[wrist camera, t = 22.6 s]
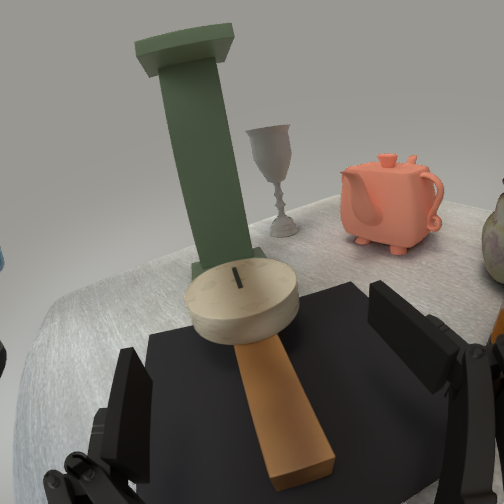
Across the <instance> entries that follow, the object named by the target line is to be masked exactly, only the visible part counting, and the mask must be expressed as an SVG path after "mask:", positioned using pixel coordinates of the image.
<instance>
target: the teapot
mask: <svg viewBox="0 0 504 504" xmlns="http://www.w3.org/2000/svg"><path fill="white" fill-rule="evenodd" d="M378 159H379V161H380V162H370V163H365V164H360V165H357V166H350V167H348V168H346V170H345V171H344V172H340V173H341V174H342V183H343V186H342V193H341V221H342V224H343V226H344V228H345V230H346V232H348V233H350V234H353V235H356V236H358V237H357V238H356V240H355V242H356V243H357V244H362V245H364V244H369V243H371V241H375V242H379V243H384V244H389V245H390V252H391V253H392V254H395V255H404V254H406V253H407V248H406V247H413V246H415V245H416V244H417V243H419V242H420V241H421V240H422V239H424V238H425V237H426V236H427V235H428V234H429V232H430V231H432V232H436V231H438V230H440V228H441V226H442V221H441V218H440V217H439V216H438V215H437V209H438V208H439V206H440V204H441V202H442V199H443V195H444V186H443V183H442V182H441V180H440V179H439V178H438V177H437V176H436V175H434V174H432V173H430V170H429V168H428V167H427V166H423V165H416V159H417V155H412V156H409V157H408V159H407V163H396V160H397V155H396V154H379V155H378ZM433 183H434V184H435V185H436V187H437V195H436V196H435V189H434V185H433ZM435 221H436V225H434V223H435Z"/></svg>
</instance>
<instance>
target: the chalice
mask: <svg viewBox="0 0 504 504" xmlns="http://www.w3.org/2000/svg"><path fill="white" fill-rule="evenodd" d="M289 126H290V125H278V126H271V127H264V128H258V129H253V130H249V131H246V133H247V134H248V136H249V137H250V142H251V147H252V153H253V158H254V161H255V162H256V164H257V166H258V168H259V170H260V171H261V172H262V174H263V175H264V177H265V178H266V179H267V181H268V182H271V183H273V184H274V186H275V193H274V195H275V197H276V199H277V203H276V205H275V206H276V207H277V208H278V211H279V214H278V216H277V217H278V218H276V219H275V220H274V221H273V223H272V224H273V225H272V227H271V229H272V230H271V232H270V235H271V236H274V237H286V236H291V235H294V234H296V233H297V232H298V231H299V229H298V228H297V227H296V224H295V223H294V222H293V219H292V218H290V217H286V216H287V215H285V213H284V206H285V203H284V202H283V200H282V196H283V192H282V190H281V188H280V182H282V181H283V180H284V179H285V178H286V175H287V171H288V168H289V165H290V160H291V148H290V141H289V136H288V129H289Z"/></svg>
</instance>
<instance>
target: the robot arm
mask: <svg viewBox="0 0 504 504" xmlns="http://www.w3.org/2000/svg"><path fill="white" fill-rule="evenodd" d="M3 267H4V258H3V255H2V251H1V248H0V271H2V269H3ZM367 322H368V323H369V325H370V326H371V327H372V328H373V329H374V330H375V331H376V332H377V333H378V334H379V335H380V336H381V338H382V339H383V340H384V341H385V342H386V343H387V344H388V345H389V346H390V347H391V349H392V350H393V351H394V352H395V353H396V354H397V355H398V356H399V357H400V359H401V360H402V361H403V362H404V363H405V364H406V365H407V366H408V368H409V369H410V370H411V371H412V372H413V373H414V374H415V376H416V377H417V378H418V379H419V380H420V381H421V382H422V384H423V385H424V386H425V387H426V388H427V389H428V391H429V392H430V393H431V394H432V395H433V394H434V393H436V392H437V391H439V390H440V389H442V388H443V387H444V385H445V383H446V381H447V380H448V381H449V382H450V385H449V387H448V389H447V391H446V393H445V396H444V397H446V396H447V394H448V393H449V402H448V421H447V432H446V442H445V450H444V457H443V463H442V469H441V474H440V479H439V484H438V489H437V493H436V497H435V501H434V504H497V495H496V493H495V492H493V491H492V482H493V473H494V462H495V437H496V442H497V447H498V452H499V458H500V464H501V471H502V479H503V490H504V377H503V376H502V372H503V374H504V334H500V335H498V336H497V338H496V340H495V342H494V343H493V344H491V345H488V346H485V347H484V346H482V345H480V344H476V343H475V344H470V345H469V344H468V343H467V342H466V341H465V340H463V339H462V338H461V337H460V336H459V335H458V334H457V333H455V332H454V331H453V330H452V329H450V328H449V327H448V326H447V325H446V324H444V322H442V321H441V320H440V319H439V318H437V317H435V316H432V315H430V314H429V315H427V316H424V315H423V314H421V313H420V312H419V311H418V310H417V309H416V308H414V307H413V306H412V305H411V304H410V303H408V302H407V301H406V300H405V299H403V298H402V297H401V296H400V295H399V294H397V293H396V292H395V291H394V290H392V289H391V288H390V287H389V286H387V285H386V284H385V283H384V282H382V281H381V280H379V281H376V282H374V283H371V284H370V288H369V305H368V319H367ZM152 389H153V380H152V379H151V377H150V375H149V374H148V372H147V370H146V369H145V367H144V365H143V364H142V362H141V360H140V358H139V357H138V355H137V353H136V351H135V350H134V348H133V347H130V348H125V349H121V350H120V354H119V358H118V362H117V366H116V370H115V374H114V379H113V383H112V388H111V393H110V397H109V402H108V408H99V410H98V412H97V413H96V415H95V417H94V421H93V427H92V431H91V433H92V434H91V437H90V443H89V449H88V455H86V454H84V453H82V452H73V453H71V454H69V455H68V456H67V458H66V460H65V463H64V468H65V471H66V472H67V474H62V473H61V472H59V471H57V470H50V471H48V472H47V473H46V474H45V475H44V479H43V485H44V489H45V493H46V497H47V500H48V504H146V503H145V502H144V501H143V500H142V499H141V498H140V497H139V496H138V495H137V494H136V493H135V492H134V491H133V489H132V488H131V487H129V486H128V479H129V480H130V481H132V482H133V483H135V484H150V425H151V404H152Z"/></svg>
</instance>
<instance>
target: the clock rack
mask: <svg viewBox="0 0 504 504" xmlns="http://www.w3.org/2000/svg"><path fill="white" fill-rule="evenodd" d="M233 39H234V32H233V28H232V23H223V24H215V25H208V26H201V27H195V28H190V29H184V30H179V31H175V32H170V33H165V34H161V35H157V36H154V37H150V38H146V39H142V40H139V41H136V42H135V50H136V57H137V59H138V60H139V62H140V64H141V65H142V67H143V68H144V70H145V72H146V73H147V75H148V76H149V78H150V77H153V76H157V75H159V80H160V86H161V92H162V97H163V103H164V108H165V114H166V119H167V124H168V129H169V134H170V139H171V144H172V149H173V153H174V158H175V162H176V167H177V171H178V176H179V180H180V184H181V189H182V193H183V197H184V201H185V205H186V209H187V213H188V217H189V221H190V225H191V229H192V233H193V237H194V241H195V244H196V248H197V252H198V255H199V259H200V262H196V263H192V281H193V280H194V279H196V278H197V277H198V276H199V275H201V274H203V273H204V272H206V271H208V270H210V269H212V268H214V267H216V266H219V265H222V264H225V263H228V262H232V261H236V260H242V259H250V258H265V259H267V257H266V256H265V254H264V253H263V251H262V250H261V248H260V247H256V248H252V245H251V240H250V235H249V229H248V224H247V219H246V214H245V209H244V204H243V198H242V193H241V188H240V183H239V178H238V172H237V167H236V162H235V157H234V152H233V146H232V142H231V136H230V132H229V126H228V121H227V115H226V110H225V105H224V100H223V95H222V90H221V84H220V79H219V75H218V69H217V64H216V63H221V62H224V61H225V59H226V57H227V54H228V52H229V49H230V47H231V44H232V42H233Z"/></svg>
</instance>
